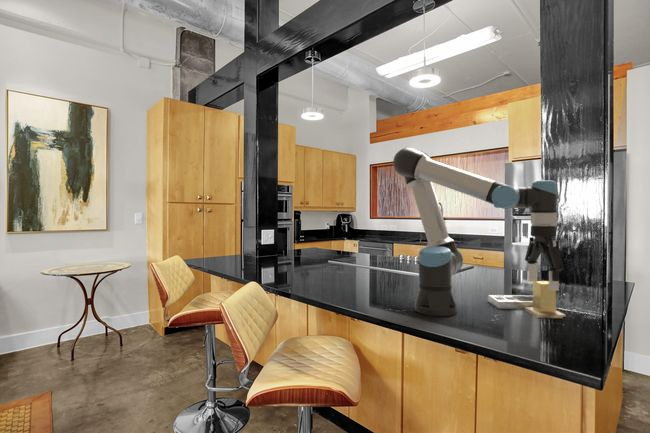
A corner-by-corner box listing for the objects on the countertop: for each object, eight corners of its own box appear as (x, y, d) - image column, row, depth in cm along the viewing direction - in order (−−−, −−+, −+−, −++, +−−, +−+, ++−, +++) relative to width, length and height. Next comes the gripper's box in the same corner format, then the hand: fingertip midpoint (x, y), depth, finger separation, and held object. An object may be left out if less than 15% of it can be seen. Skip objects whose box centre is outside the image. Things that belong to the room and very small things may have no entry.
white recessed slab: (498, 309, 126) (498, 301, 126) (488, 302, 136) (488, 294, 136) (549, 310, 124) (549, 301, 124) (535, 302, 134) (535, 295, 134)
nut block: (540, 313, 116) (540, 284, 116) (533, 308, 121) (532, 281, 121) (556, 313, 116) (555, 284, 116) (547, 308, 121) (547, 281, 121)
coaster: (537, 319, 114) (537, 314, 114) (524, 311, 123) (524, 307, 123) (565, 319, 114) (565, 315, 114) (550, 311, 123) (550, 307, 123)
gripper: (577, 227, 105) (576, 295, 106) (536, 223, 130) (535, 278, 131) (552, 227, 106) (551, 294, 107) (515, 223, 131) (514, 278, 131)
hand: (542, 285), depth 119 cm, fingers open, 13 cm apart
